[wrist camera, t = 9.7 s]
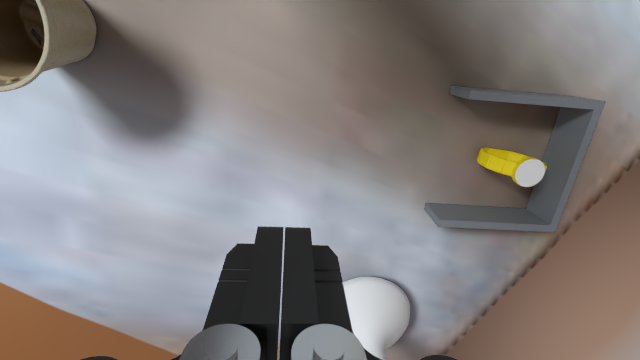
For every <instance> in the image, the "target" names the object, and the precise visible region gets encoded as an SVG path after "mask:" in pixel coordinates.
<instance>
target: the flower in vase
mask: <svg viewBox="0 0 640 360" xmlns="http://www.w3.org/2000/svg"><path fill="white" fill-rule="evenodd" d="M342 284H343V287H344V292H345V297H346V302H347V307H348V312H349V317H350V322H351V327H352V330H353V333H354V335H355V336H356V337H357V339H358V340H359V341H360V343H361V344H362V346H363V348H364V349H366V350H367V351H368V352H369V353H371V354H372V355H374V356H375V357H377V358H379V359H381V360H386V357H385V350H386V349H387V348H389V347H391V346H392V345H393V344H394V343H396V342H397V341H398V340H399V338H400V337H401V336H402V335H403V333H404V332H405V330H406V328H407V326H408V324H409V320H410V303H409V300H408V298H407V296H406V294H405V293H404V292H403V290H402V289H401V288H400V287H398V286H397V285H395V284H394V283H392V282H390V281H387V280H385V279H382V278H377V277H358V278H353V279H350V280H347V281H345V282H343V283H342Z"/></svg>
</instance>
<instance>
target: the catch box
mask: <svg viewBox="0 0 640 360" xmlns="http://www.w3.org/2000/svg"><path fill="white" fill-rule="evenodd" d="M450 94H452V95H455V96H459V97H462V98H466V99H471V100H484V101H496V102H508V103H520V104H532V105H544V106H557V107H560V110H559V113H558V116H557V119H556V122H555V125H554V128H553V130H552V133H551V136H550V139H549V142H548V145H547V148H546V151H545V154H544V157H543V160H542V162H544V163H545V164H546V166H547V169H546V171H545V173H544V176H543V178H542V179H541V181H539V182H538V183H537V184H536V185H534V186H533V189H532V192H531V195H530V198H529V201H528V204H527V207H526V208H509V207H490V206H472V205H453V204H435V203H426V204H425V208H424V210H425V211H426V212H427V214H428V215H429V216H430V217H431V219H432V220H433V221H434V222H435V224H436V225H437V226H438V227H453V228H474V229H495V230H516V231H537V232H555V231H556V229H557V226H558V223H559V221H560V218H561V216H562V213H563V210H564V208H565V205H566V203H567V200H568V198H569V195H570V192H571V190H572V187H573V185H574V182H575V179H576V177H577V174H578V172H579V169H580V166H581V164H582V161H583V159H584V156H585V154H586V151H587V148H588V146H589V143H590V141H591V138H592V135H593V133H594V130H595V128H596V125H597V123H598V120H599V117H600V115H601V112H602V110H603V107H604V104H605V102H606V101H600V100H594V99H588V98H581V97H575V96H567V95H555V94H543V93H531V92H520V91H508V90H496V89H485V88H473V87H461V86H451V89H450Z"/></svg>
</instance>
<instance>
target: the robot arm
mask: <svg viewBox="0 0 640 360" xmlns="http://www.w3.org/2000/svg"><path fill="white" fill-rule="evenodd" d="M282 247H283V227H258V229H257V234H256V239H255V244H237V245H236V246H235V247H234V248H233V249H232V250H231V251H230V252H229V253H228V254H227V255H226V259H225V262H224V265H223V270H222V271H221V274H220V278H219V282H218V284H217V287H216V290H215V293H214V297H213V300H212V303H211V306H210V309H209V312H208V316H207V319H206V322H205V325H204V328H203V331H201V332H200V333H198V334H197V335H196V336H194V337H193V338H192V339H191V340H190V341H189V343H188V344H187V345H186V347H185V349H184V350H183V352H182V354H181V355H179V356H178V357H176V358H174V359H172V360H277V349H278V330H279V312H280V293H281V272H282ZM82 360H117V359H114V358H112V357H107V356H96V357H89V358H85V359H82ZM280 360H381V359H379V358H377V357H375V356H374V355H372V354H371V353H369V352H368V351H367V350H366V349H364V348H363V346H362V344H361V343H360V341H359V340H358V339H357V337H356V336H355V335H354V333H353V330H352V327H351V322H350V317H349V312H348V307H347V302H346V297H345V292H344V287H343V284H342V277H341V272H340V267H339V262H338V257H337V256H336V255H335V253H334V252H333V251H332V250H331V249H330V247H329V246H318V245H312V241H311V230H310V228H292V227H286V228H285V250H284V272H283V294H282V315H281V338H280ZM421 360H456V359H454V358H451V357H447V356H442V355H431V356H427V357H425V358H422V359H421Z"/></svg>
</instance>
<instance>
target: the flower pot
mask: <svg viewBox="0 0 640 360" xmlns="http://www.w3.org/2000/svg"><path fill="white" fill-rule="evenodd" d="M32 29H34V30H35V31H36V33H37V34H39V35H40V36H39V37H40V39H41V40H42V41H41V42H39V41H38V40H37V39H36V37H35V36H34V34H33V32H32ZM96 31H97V29H96V23H95V20H94V17H93V15H92V13H91V11H90V9H89V8H88V6H87V5H86V4H85V3H84V1H83V0H0V92H3V91H10V90H14V89H18V88H21V87H23V86H25V85H27V84H29V83H30V82H32V81H33V80H34V79H36V78H37V77H38V76H39V75H40V74H41V73H42V72H43V71H46V70H50V69H53V68H56V67H59V66H63V65H66V64H69V63H73V62H77V61H80V60H82V59H84V58H85V57H87V56H88V55H89V54H90V53H91V52H92V50H93V48H94V44H95V38H96Z"/></svg>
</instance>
